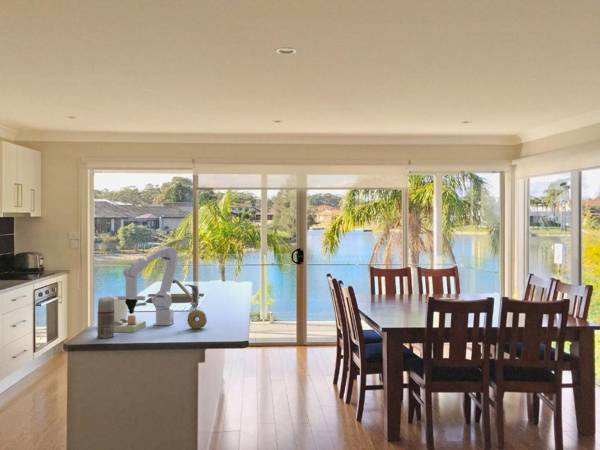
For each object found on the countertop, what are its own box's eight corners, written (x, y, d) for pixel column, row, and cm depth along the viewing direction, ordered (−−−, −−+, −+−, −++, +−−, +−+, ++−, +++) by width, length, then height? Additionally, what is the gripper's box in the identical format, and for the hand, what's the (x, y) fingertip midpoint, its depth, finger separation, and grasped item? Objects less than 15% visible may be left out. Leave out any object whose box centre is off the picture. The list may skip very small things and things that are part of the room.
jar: (107, 325, 304) (107, 299, 303) (109, 322, 314) (108, 296, 313) (127, 324, 306) (127, 298, 306) (128, 321, 316) (128, 295, 316)
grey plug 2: (128, 326, 300) (128, 318, 300) (125, 327, 297) (125, 319, 296) (122, 326, 301) (121, 318, 301) (118, 327, 297) (118, 319, 297)
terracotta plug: (136, 323, 294) (136, 315, 294) (133, 325, 290) (133, 316, 290) (129, 323, 294) (129, 315, 294) (126, 324, 290) (126, 316, 290)
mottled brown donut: (186, 329, 293) (186, 310, 293) (188, 327, 297) (188, 309, 297) (205, 329, 293) (205, 310, 293) (207, 328, 296) (207, 309, 296)
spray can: (116, 335, 280) (116, 296, 279) (111, 338, 271) (111, 298, 271) (100, 335, 279) (99, 296, 279) (94, 338, 271) (94, 298, 271)
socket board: (145, 326, 301) (145, 321, 301) (134, 332, 286) (134, 326, 286) (119, 326, 303) (119, 320, 303) (107, 331, 288) (107, 326, 288)
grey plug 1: (123, 329, 293) (123, 320, 293) (119, 330, 289) (119, 322, 289) (116, 329, 293) (115, 320, 293) (112, 330, 289) (112, 322, 289)
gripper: (115, 289, 288) (115, 314, 289) (141, 289, 287) (141, 315, 287) (120, 287, 295) (121, 312, 296) (146, 287, 294) (146, 312, 294)
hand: (131, 313), depth 292 cm, fingers closed
